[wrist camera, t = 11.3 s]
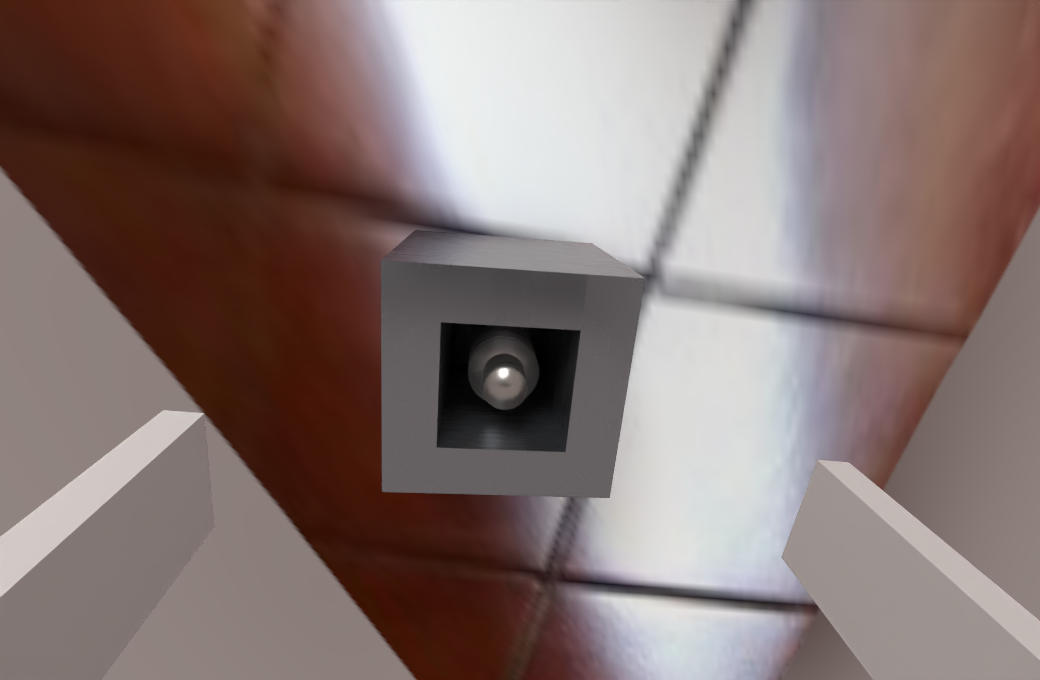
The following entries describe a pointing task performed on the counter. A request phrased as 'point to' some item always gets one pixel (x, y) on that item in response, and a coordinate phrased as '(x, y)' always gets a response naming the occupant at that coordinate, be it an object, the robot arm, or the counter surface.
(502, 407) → the hub
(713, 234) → the counter surface
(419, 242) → the block
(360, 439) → the counter surface
